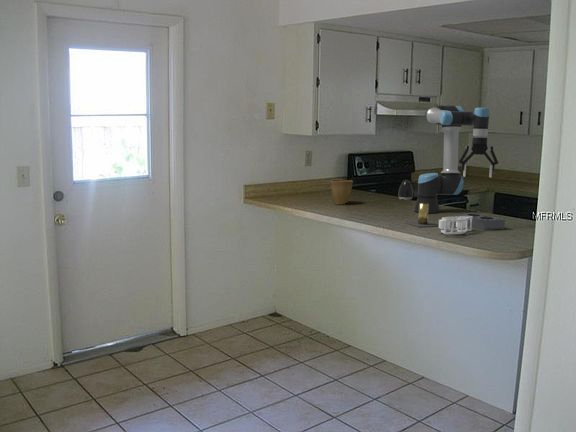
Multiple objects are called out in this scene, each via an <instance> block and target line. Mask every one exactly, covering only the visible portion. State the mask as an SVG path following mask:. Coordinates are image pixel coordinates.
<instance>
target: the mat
mask: <svg viewBox="0 0 576 432" xmlns="http://www.w3.org/2000/svg"><path fill="white" fill-rule="evenodd" d="M404 224H406V225H409V226H413V227H416V228H436V227H438V228H439V223H438V224H437V223H434V222H430V221H428V224H427V225H421V224H418V221H405V222H404Z"/></svg>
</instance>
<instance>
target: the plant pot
mask: <svg viewBox="0 0 576 432" xmlns="http://www.w3.org/2000/svg"><path fill="white" fill-rule="evenodd" d="M353 183H354V181H353V180H351V179H349V180H348V179H331V180H330V189H331V195H332V199H333V201H334V204H335V203H339V204H345V203H348V201H349V198H350V195H351V192H352V188H353Z"/></svg>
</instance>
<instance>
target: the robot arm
mask: <svg viewBox="0 0 576 432" xmlns="http://www.w3.org/2000/svg"><path fill="white" fill-rule="evenodd" d="M424 117H425V121H426V122H427V123H429V124H432V125H436V126H441V129H442V131H443V160H442V161H443V164H442V166H443V167H442V171H441V172H440V174H439V173H437V172H429V173H423V174H420V175H419V177H418V181H417V199H416V201H415V205H414V206H413V211H414V212H417V213H419V203H428V204H429V208H428V214H434V213H435V214H436V213H440V205H439V203H438V196H439V195H444V196H446V195H447V196H451V195H452V196H453V195H456V196H457V195H459V194H460V193H461V192H462V190H463V187H464V183H465V181H464V178H465V177H466V176H467V174H466V173H467V164H466V163H467V162H468V161H469V160H470V159H471V158H472V157H473V156H475V155H480V156H482V155H483V156H484V157H485V158H486V159H487V160H488V161H489V163H490V164H489V175H488V177H489V178H492V175H493V172H494V171H495V165H498V164H499V161H498V159H497V155H495V154H496V153H495V152H494V146H491V145H490V146H488V135H489V134H488V133H489V124H490V123H489V119H490V108H488V107H475V108H474V111H465V110H464V108H463V107H462V106H459V105H433V106H430V107H428V108H427V110H426V111H425V113H424ZM462 126H468V127H469V126H470V127H471V126H472V128H473V130H472V136H473V137H472V141H471V142H472V143H471V145H465V150H464V151H463V153H462V155H461V157H460V158H459V137H460V136H459V135H460V133H459V131H460V130H461V129H462ZM470 149H471V150H470ZM469 151H471V152H470V153H469V154H468V156H467V157H466V155H467V153H468V152H469ZM487 151H489V152H490V155H491V157H492V158H491V157H490V156H489V154H488V153H487ZM465 157H466V158H465ZM459 164H461V171H463V174H462V175H463V176H462V175H461V172H460V171H459V170H458V169H459V167H458V166H459Z"/></svg>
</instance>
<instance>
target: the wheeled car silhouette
mask: <svg viewBox="0 0 576 432" xmlns="http://www.w3.org/2000/svg"><path fill="white" fill-rule="evenodd" d="M468 219H470V226H468ZM472 219H473V217H472V216H458V217H456V216H444V217H443V216H442V217H441V219H438V225H439V227H438V229H440V232H441V233H442V234H444V235H462V234H466V233H468V232H472V229H473V227H472ZM454 224H455V225H454ZM455 227H456V228H455Z"/></svg>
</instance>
